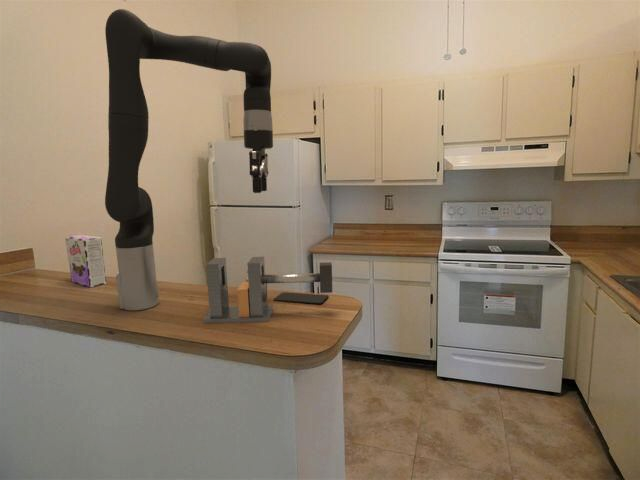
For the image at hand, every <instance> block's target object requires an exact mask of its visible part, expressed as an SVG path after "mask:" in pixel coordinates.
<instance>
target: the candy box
mask: <svg viewBox="0 0 640 480" xmlns="http://www.w3.org/2000/svg"><path fill="white" fill-rule="evenodd" d="M102 240H103V239H102V237H101V236H93V235H87V234H86V235H85V234H74V235H68V236H65V244H66V245H65V246H66V252H67V256H68V257H67V258H68V266H69V272H70V273H69V274H70V277H71V278H70V279H71V282H72V283H73V284H77V285H80V286H83V287H88V288H94V287H99V286H102V285H107V275H106V267H105V258H104V250H103V242H102Z"/></svg>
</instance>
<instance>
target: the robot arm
mask: <svg viewBox="0 0 640 480" xmlns="http://www.w3.org/2000/svg"><path fill="white" fill-rule="evenodd" d="M104 29H105V32H104V33H105V43H106V53H107V54H106V55H107V61H108V114H107V115H108V116H107V117H108V120H107V123H108V124H107V125H108V126H107V127H108V169H107V171H108V172H107V180H106V187H105V195H104V205H105V211H106V212H107V214H108V216H109V217H110V218H111V219H112V220H114V221H115V222H119V229H118V232H117V234H116V235H115V238H114V245H115V253H116V261H117V267H118V268H117V269H118V274H116V276H115V280H116V281H115V282H116V287H117V296H118V297H117V298H118V305H119V309H120V310H125V311H140V310H147V309H151V308H153V307H155V306H158V305H159V304H160V298H159V297H160V296H159V289H158V282H157V281H158V280H157V271H156V262H155V261H156V260H155V253H154V252H155V251H154V244H153V243H154V242H153V237H154V232H155V231H154V230H155V225H154V211H153V208H154V207H153V203H152V199H151V196H150V195H149V193H148V191H146V190H145V189H144V188H143V187H140V186H139V168H140V164H141V161H142V158H143V155H144V152H145V151H146V147H147V142H148V139H149V119H150V118H149V107H148V102H147V99H146V96H145V91H144V88H143V84H142V81H141V73H140V72H141V71H140V67H141V66H140V63H141V60H161V61H172V62H179V63H185V64H189V65H192V66H193V65H194V66H198V67H202V68H206V69H211V70H216V71H221V72H222V71H223V72H228V71H231V70H232V71H236V72H237V71H238V72H242V73H244V75H245V77H244V79H245V89H244V91H243V121H242V124H243V147H244V148H245V149H250V150H249V153H248V155H249V158H248V159H249V160H248V161H249V175H250V177H251V178H252V181H251V182H252V192H253V193H254V194H260V193H262V192H266V191H268V188H267V187H268V185H267V183H268V181H267V178H268V175H269V165H268V163H269V161H268V160H269V158H268V157H269V155H268V153H266V151H265V150H271V149H272V148H273V147H274V138H273V137H274V135H273V134H274V133H273V127H274V126H273V117H272V102H271V101H272V100H271V99H272V98H271V87H272V86H271V84H272V63H271V59H270V58H269V54H268V52H267V51H266V50H265V48H264V47H262V46H261V45H258V44H255V43H253V42H252V43H251V42H243V41H225V40H223V39H219V38H218V39H217V38H212V37H209V36H202V35H176V34H175V35H174V34H170V33H166V32H162V31H160V30H158V29H154V28H152V27H149V26H148V24H147V23H146V22H144V21H143V20H141V18H140V17H138V16H137V15H136V14H134V13H133V12H132V11H130V10H128V9H124V8H118V9H115V10H114V11H112V12H111V13H110V14H109V16H108V17H107V19H106V23H105V28H104Z"/></svg>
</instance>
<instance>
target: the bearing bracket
mask: <svg viewBox="0 0 640 480" xmlns="http://www.w3.org/2000/svg"><path fill="white" fill-rule="evenodd" d="M226 261H227V259H226V257H213V258H212V259H211V260H209V261H208V262H207V263H205V270H206V280H207V282H206V283H207V294H208V305H209V306H208V307H209V311H208V313H207V314H206V315H205V316H204V318H203V319H202V323H203V324H226V323H231V324H233V323H234V324H235V323H263V322H264V323H266V322H267V323H268V322H270V319H271V316H272V313H273V311H274V305H273V304H272V305H271V304H268V300H267V298H268V297H267V298H266V283H265V284H262V275H266V264H265V256H252V257H251V258H250V259H249V261H248V262H247V268H248V273H247V276H248V281H249V297H250V313H251V314H250V316H249V317H239V307H238V305H231V306H230V297H229V287H228V273H227V272H228V271H227V262H226Z"/></svg>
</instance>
